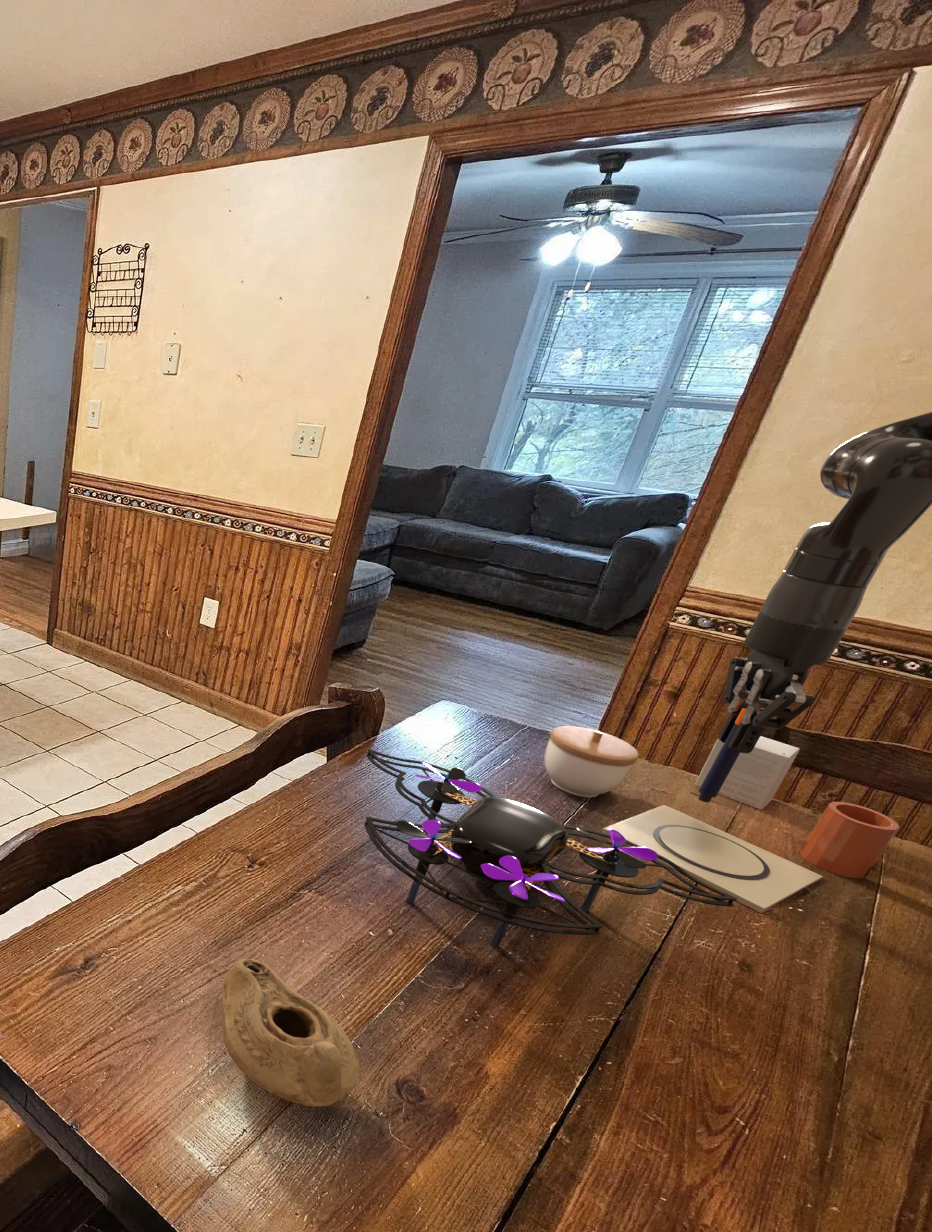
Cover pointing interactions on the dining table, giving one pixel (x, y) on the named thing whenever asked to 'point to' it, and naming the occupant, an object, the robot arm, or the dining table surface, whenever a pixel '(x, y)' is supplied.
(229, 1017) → the oil lamp
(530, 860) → the drone
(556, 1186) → the dining table surface
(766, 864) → the drawing pad
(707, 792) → the marker
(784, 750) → the small box
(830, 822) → the pen cup
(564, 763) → the trinket box
